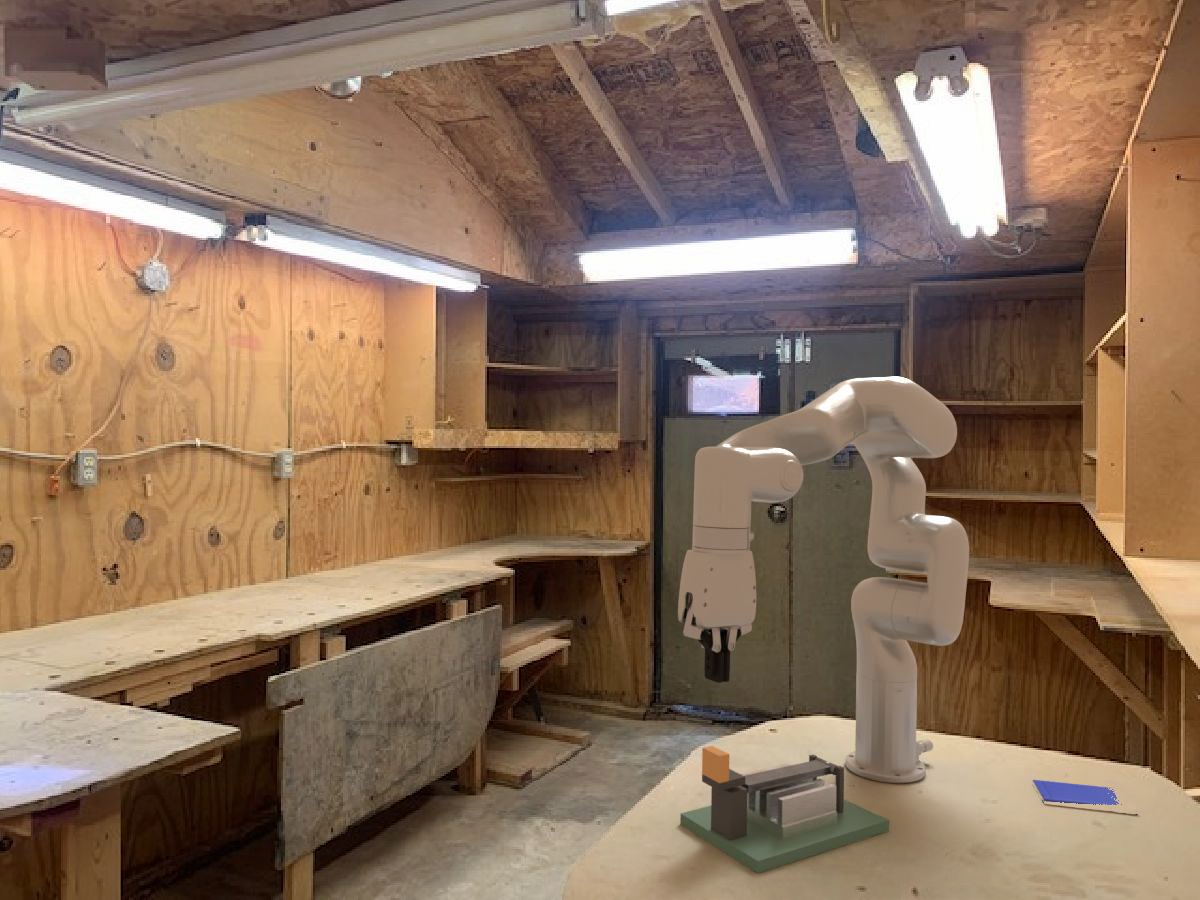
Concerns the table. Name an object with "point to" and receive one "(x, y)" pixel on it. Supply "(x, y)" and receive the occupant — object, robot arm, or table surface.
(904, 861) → the table surface
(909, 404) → the robot arm
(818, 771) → the strap
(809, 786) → the heat sink
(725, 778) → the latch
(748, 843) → the board
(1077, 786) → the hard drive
